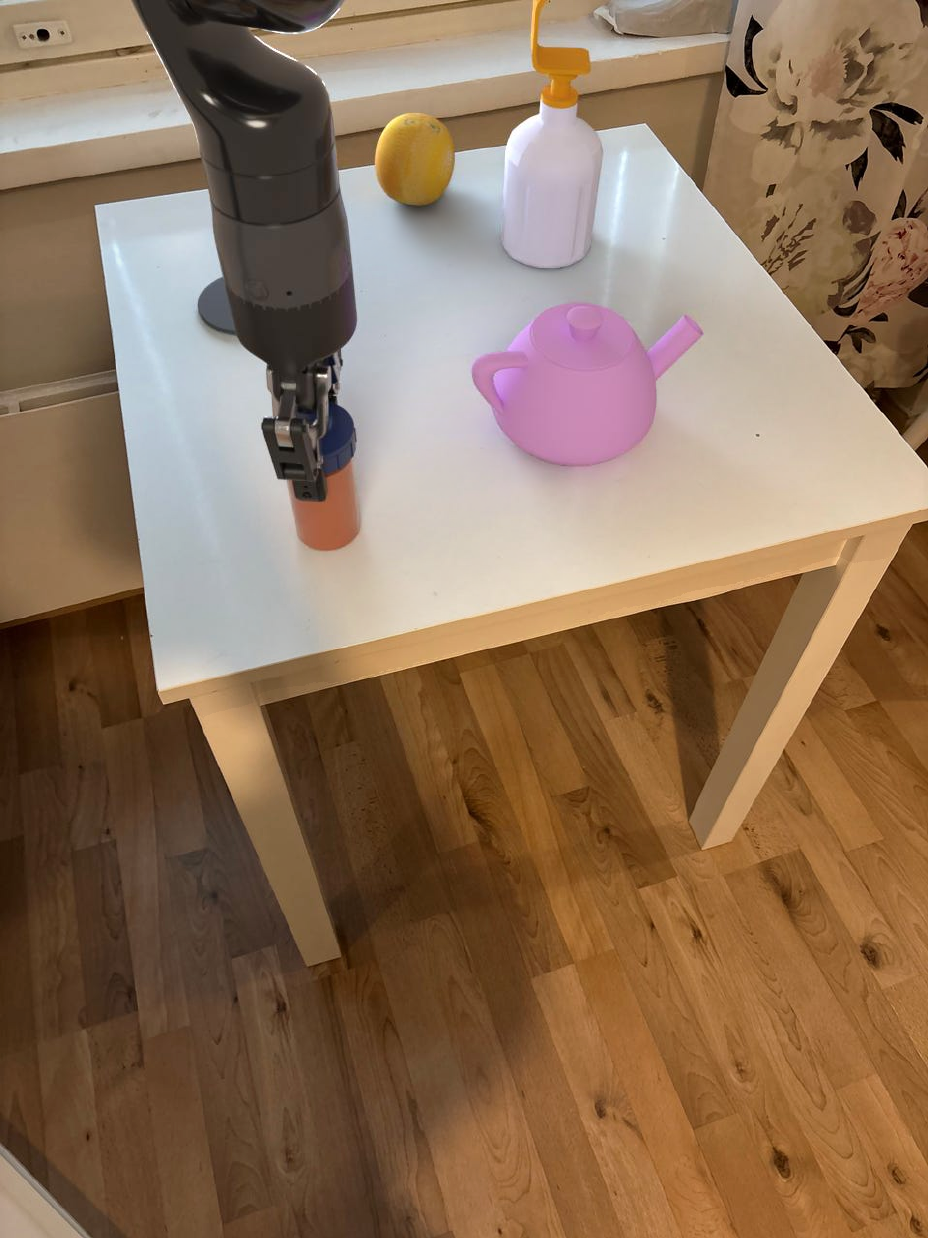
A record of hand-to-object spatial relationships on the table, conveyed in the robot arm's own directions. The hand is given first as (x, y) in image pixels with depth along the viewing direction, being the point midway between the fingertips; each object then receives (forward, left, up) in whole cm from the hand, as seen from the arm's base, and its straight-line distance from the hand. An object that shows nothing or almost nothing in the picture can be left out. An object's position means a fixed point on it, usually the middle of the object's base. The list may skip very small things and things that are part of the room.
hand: (319, 464), depth 69 cm
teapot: (+22, +9, -7) cm, 25 cm away
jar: (0, 0, -7) cm, 7 cm away
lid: (0, 0, +3) cm, 3 cm away
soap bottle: (+24, +34, -7) cm, 43 cm away
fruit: (+12, +44, -7) cm, 47 cm away
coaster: (-6, +28, -7) cm, 30 cm away
